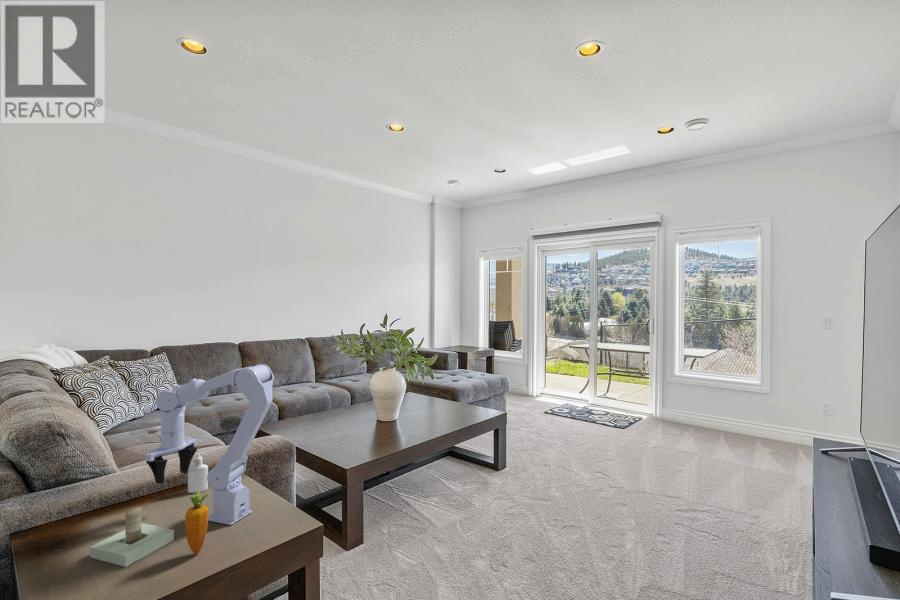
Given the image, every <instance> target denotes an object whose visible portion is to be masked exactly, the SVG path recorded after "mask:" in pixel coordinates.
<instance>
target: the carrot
mask: <svg viewBox="0 0 900 600" xmlns="http://www.w3.org/2000/svg"><path fill="white" fill-rule="evenodd" d="M200 495H201V492H200V491H198V492H197V493H195V495H194V494H193V495H191V496H190V501H191V502H192V505H193V506H191V507H189V508H188V509H187V511H186V512H185V518H184V519H185V522H184V524H185V525H184V526H185V535H186V540H187V545H188V547H189V549H190V550H191V552H192V553H193V554H194V555H198V554H199V553H200V551H201V549H202V548H203V545H204V542H205V539H206V535H207V530H208V524H209V521H208V516H209V507H208V506H207V505H203V501H204V500H205V498H208V496H209V494H208V493H205V494H204V495H203V496H202V497H201V498H200Z"/></svg>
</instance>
